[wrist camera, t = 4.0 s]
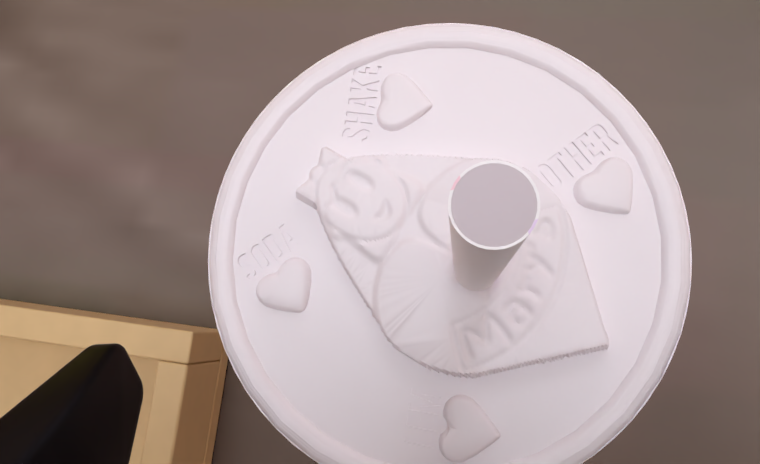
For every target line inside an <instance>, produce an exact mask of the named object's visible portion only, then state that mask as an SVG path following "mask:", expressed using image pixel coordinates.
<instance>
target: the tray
mask: <svg viewBox="0 0 760 464" xmlns="http://www.w3.org/2000/svg"><path fill="white" fill-rule="evenodd" d="M112 343H117V344H120V345H122V346H123V347H124V348H125V350H126V351H127V353H128V355H129V357H130V359H131V361H132V363H133V365H134V367H135V369H136V371H137V373H138V375H139V377H140V378H141V381H142V384H143V401H142V405H141V410H140V414H139V419H138V424H137V428H136V433H135V438H134V442H133V447H132V451H131V456H130V461H129V464H211V461H212V455H213V449H214V442H215V436H216V430H217V424H218V418H219V412H220V405H221V399H222V393H223V387H224V381H225V374H226V368H227V362H228V356H227V354H226V352H225V349H224V346H223V343H222V340H221V338H220V335H219V332H218V329H212V328H205V327H198V326H191V325H184V324H177V323H170V322H162V321H155V320H148V319H141V318H134V317H127V316H120V315H113V314H105V313H98V312H91V311H84V310H77V309H70V308H63V307H56V306H49V305H41V304H34V303H27V302H20V301H13V300H6V299H0V418H1V417H2V416H3V415H5V414H6V413H7V412H8V411H10V410H11V409H12V408H13V407H15V406H16V405H17V404H18V403H19V402H21V401H22V400H23V399H24V398H26V397H27V396H28V395H29V394H31V393H32V392H33V391H34V390H35V389H37V388H38V387H39V386H40V385H42V384H43V383H44V382H45V381H47V380H48V379H49V378H50V377H51V376H53V375H54V374H55V373H56V372H58V371H59V370H60V369H61V368H63V367H64V366H65V365H66V364H67V363H69V362H70V361H71V360H72V359H74V358H75V357H76V356H77V355H78V354H80V353H81V352H82V351H83V350H85V349H86V348H87V347H89V346H91V345H95V344H112Z"/></svg>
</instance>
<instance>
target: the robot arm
mask: <svg viewBox="0 0 760 464" xmlns="http://www.w3.org/2000/svg"><path fill="white" fill-rule="evenodd" d="M142 401H143V384H142V381H141V378H140V377H139V375H138V373H137V371H136V369H135V367H134V365H133V363H132V361H131V359H130V357H129V355H128V353H127V351H126V350H125V348H124V347H123V346H122V345H120V344H117V343H112V344H95V345H91V346H89V347H87V348H86V349H85V350H83V351H82V352H81V353H80V354H78V355H77V356H76V357H75V358H74V359H72V360H71V361H70V362H69V363H67V364H66V365H65V366H64V367H63V368H61V369H60V370H59V371H58V372H56V373H55V374H54V375H53V376H51V377H50V378H49V379H48V380H47V381H45V382H44V383H43V384H42V385H40V386H39V387H38V388H37V389H35V390H34V391H33V392H32V393H31V394H29V395H28V396H27V397H26V398H24V399H23V400H22V401H21V402H19V403H18V404H17V405H16V406H15V407H13V408H12V409H11V410H10V411H8V412H7V413H6V414H5V415H3V416H2V417H1V418H0V464H129V461H130V456H131V451H132V447H133V442H134V438H135V433H136V428H137V424H138V419H139V414H140V410H141V405H142Z"/></svg>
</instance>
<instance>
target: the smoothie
mask: <svg viewBox="0 0 760 464" xmlns="http://www.w3.org/2000/svg"><path fill="white" fill-rule="evenodd" d="M208 273H209V288H210V295H211V302H212V308H213V312H214V316H215V321H216V325H217V329H218V332H219V335H220V338H221V340H222V343H223V346H224V349H225V352H226V354H227V356H228V358H229V360H230V363H231V365H232V367H233V369H234V371H235V373H236V375H237V377H238V378H239V380H240V382H241V383H242V385H243V387H244V389H245V390H246V392H247V393H248V395H249V396H250V398H251V399H252V400H253V402H254V403H255V404H256V406H257V407H258V409H259V410H260V411H261V412H262V414H263V415H264V416H265V417H266V418H267V419H268V420H269V422H270V423H271V424H272V425H273V426H274V427H275V428H276V429H277V430H278V431H279V432H280V433H281V434H282V435H283V436H284V437H285V438H286V439H287V440H289V441H290V442H291V443H292V444H293V445H294V446H295V447H297V448H298V449H299V450H301V451H302V452H303V453H305V454H306V455H307V456H308V457H310V458H311V459H312V460H314V461H316V462H317V463H319V464H581V463H583V462H584V461H586V460H588V459H589V458H591V457H592V456H594V455H595V454H596V453H597V452H599V451H600V450H601V449H602V448H604V447H605V446H606V445H607V444H608V443H610V442H611V441H612V440H613V439H614V438H615V437H616V436H617V435H618V434H619V433H620V432H621V431H622V430H623V429H624V428H625V427H626V426H627V425H628V424H629V423H630V422H631V421H632V420H633V419H634V418H635V416H636V415H637V414H638V413H639V411H640V410H641V409H642V408H643V406H644V405H645V404H646V403H647V401H648V400H649V398H650V397H651V395H652V393H653V392H654V390H655V389H656V387H657V386H658V384H659V383H660V381H661V379H662V377H663V375H664V373H665V371H666V369H667V367H668V365H669V363H670V361H671V359H672V357H673V354H674V352H675V349H676V346H677V344H678V341H679V338H680V336H681V333H682V329H683V325H684V321H685V317H686V313H687V309H688V302H689V295H690V289H691V274H692V252H691V236H690V230H689V224H688V218H687V212H686V208H685V204H684V201H683V197H682V194H681V190H680V187H679V184H678V182H677V179H676V177H675V174H674V171H673V169H672V166H671V164H670V162H669V160H668V158H667V156H666V154H665V152H664V151H663V149H662V147H661V145H660V143H659V141H658V140H657V138H656V137H655V135H654V134H653V132H652V131H651V129H650V127H649V126H648V124H647V123H646V122H645V121H644V119H643V118H642V117H641V116H640V114H639V113H638V112H637V110H636V109H635V108H634V107H633V105H632V104H631V103H630V102H629V101H628V100H627V99H626V98H625V97H624V96H623V95H622V94H621V93H620V92H619V91H618V90H617V89H616V88H615V87H614V86H612V85H611V84H610V83H609V82H608V81H607V80H605V79H604V78H603V77H602V76H601V75H600V74H598V73H597V72H595V71H594V70H593V69H591V68H590V67H588V66H587V65H585V64H584V63H583V62H581V61H580V60H578V59H576V58H574V57H573V56H571V55H569V54H567V53H565V52H564V51H562V50H560V49H558V48H556V47H554V46H551V45H549V44H547V43H545V42H542V41H540V40H538V39H535V38H532V37H529V36H526V35H523V34H520V33H517V32H513V31H508V30H504V29H500V28H496V27H489V26H482V25H475V24H458V23H441V24H425V25H417V26H410V27H404V28H400V29H395V30H391V31H387V32H383V33H380V34H377V35H374V36H371V37H368V38H365V39H362V40H360V41H357V42H355V43H353V44H350V45H348V46H346V47H344V48H341V49H340V50H338V51H336V52H334V53H332V54H330V55H329V56H327V57H325V58H323V59H322V60H320V61H319V62H317V63H316V64H314V65H313V66H311V67H310V68H308V69H307V70H305V71H304V72H303V73H301V74H300V75H299V76H298V77H297V78H295V79H294V80H293V81H292V82H291V83H289V84H288V85H287V86H286V87H285V88H284V89H283V90H282V91H281V92H280V93H279V94H278V95H277V96H276V97H275V98H274V99H273V100H272V101H271V102H270V103H269V104H268V105H267V107H266V108H265V109H264V110H263V111H262V113H261V114H260V115H259V116H258V117H257V119H256V120H255V122H254V123H253V124H252V126H251V127H250V129H249V130H248V132H247V133H246V134H245V136H244V138H243V139H242V141H241V143H240V145H239V146H238V148H237V150H236V152H235V153H234V155H233V158H232V160H231V162H230V164H229V166H228V169H227V171H226V173H225V175H224V178H223V181H222V184H221V187H220V190H219V193H218V196H217V200H216V204H215V208H214V212H213V216H212V223H211V230H210V236H209V251H208Z"/></svg>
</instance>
